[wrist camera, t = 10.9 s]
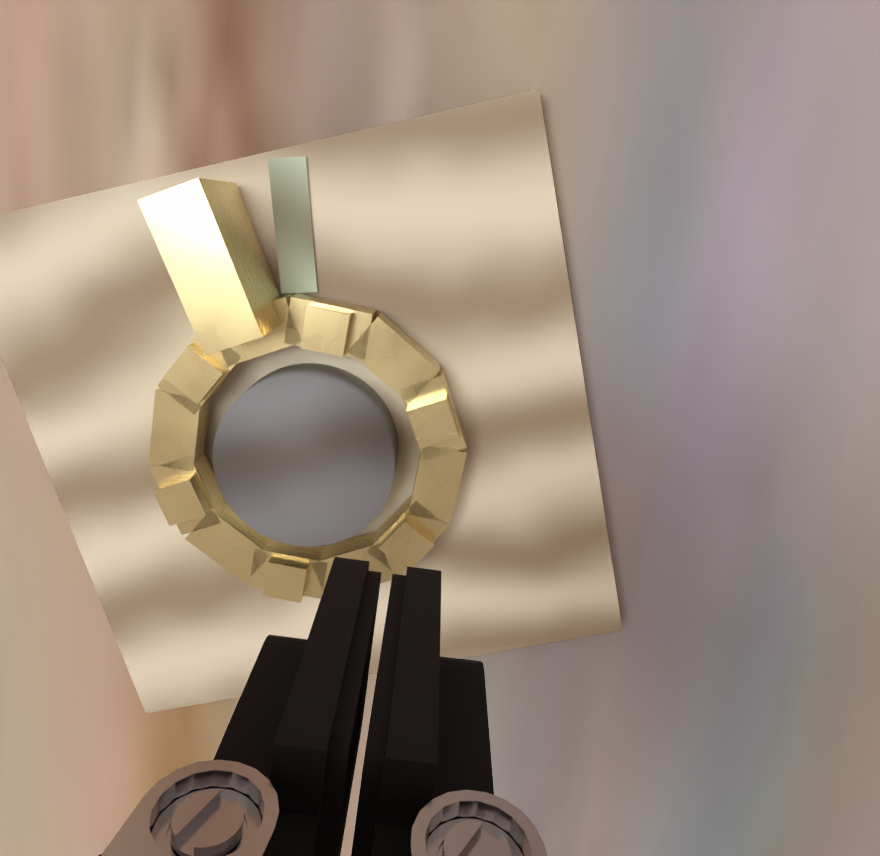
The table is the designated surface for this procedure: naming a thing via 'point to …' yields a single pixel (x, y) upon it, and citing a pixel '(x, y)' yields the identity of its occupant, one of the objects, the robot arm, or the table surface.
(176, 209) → the ring nut
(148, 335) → the base
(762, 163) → the table surface
